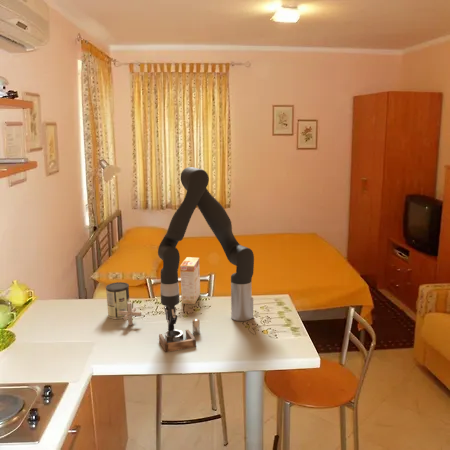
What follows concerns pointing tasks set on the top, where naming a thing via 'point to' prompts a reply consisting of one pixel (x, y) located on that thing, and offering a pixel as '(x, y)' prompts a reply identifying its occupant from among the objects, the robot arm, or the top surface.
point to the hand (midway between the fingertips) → (171, 331)
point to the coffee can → (117, 299)
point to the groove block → (178, 343)
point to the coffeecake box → (190, 280)
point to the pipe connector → (129, 313)
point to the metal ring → (173, 336)
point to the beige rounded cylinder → (196, 326)
